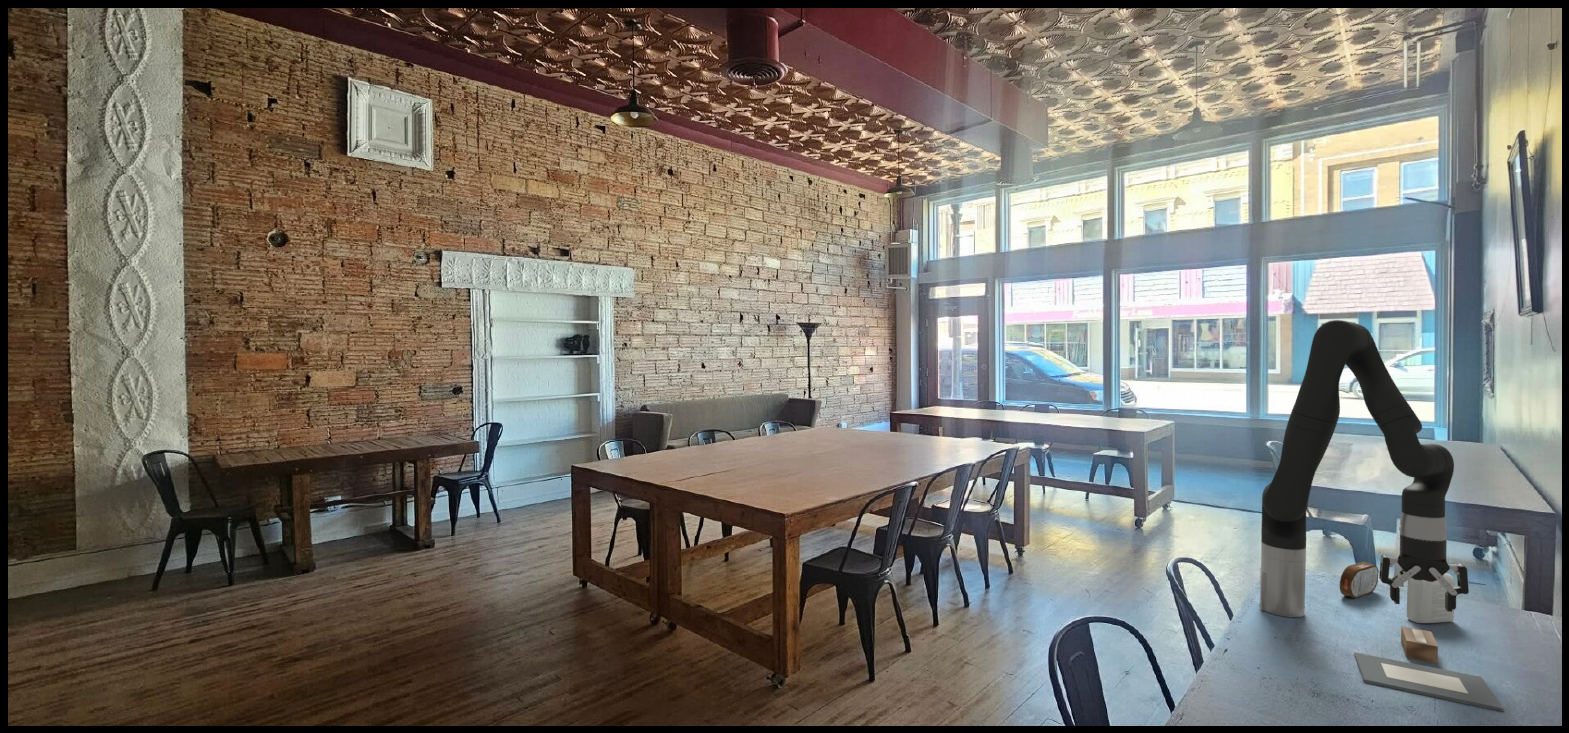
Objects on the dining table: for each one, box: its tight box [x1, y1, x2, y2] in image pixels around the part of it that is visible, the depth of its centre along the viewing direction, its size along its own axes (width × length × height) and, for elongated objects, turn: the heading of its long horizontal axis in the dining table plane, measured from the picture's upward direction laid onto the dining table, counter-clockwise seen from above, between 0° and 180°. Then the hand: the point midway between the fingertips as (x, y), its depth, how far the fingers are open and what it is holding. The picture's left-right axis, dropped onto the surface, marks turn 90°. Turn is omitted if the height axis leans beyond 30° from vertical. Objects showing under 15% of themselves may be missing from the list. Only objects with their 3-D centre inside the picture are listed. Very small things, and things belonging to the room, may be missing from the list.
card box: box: [1400, 625, 1439, 664], centre depth 150 cm, size 5×9×4 cm, turn 143°
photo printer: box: [1406, 572, 1456, 624], centre depth 167 cm, size 10×4×12 cm, turn 98°
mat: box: [1353, 651, 1504, 712], centre depth 138 cm, size 20×14×1 cm
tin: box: [1339, 561, 1380, 599], centre depth 183 cm, size 15×3×8 cm, turn 116°
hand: (1422, 606), depth 150 cm, fingers open, 8 cm apart
